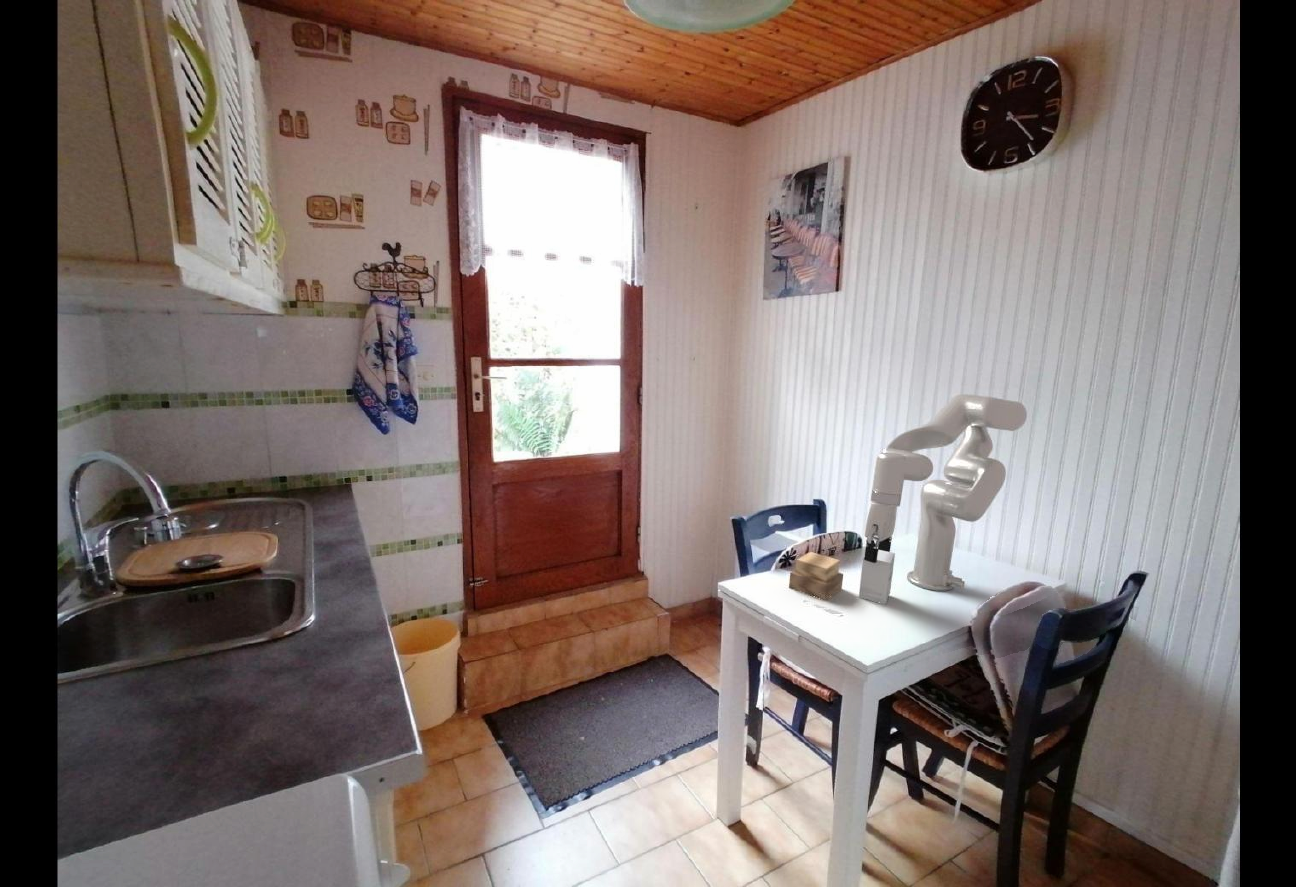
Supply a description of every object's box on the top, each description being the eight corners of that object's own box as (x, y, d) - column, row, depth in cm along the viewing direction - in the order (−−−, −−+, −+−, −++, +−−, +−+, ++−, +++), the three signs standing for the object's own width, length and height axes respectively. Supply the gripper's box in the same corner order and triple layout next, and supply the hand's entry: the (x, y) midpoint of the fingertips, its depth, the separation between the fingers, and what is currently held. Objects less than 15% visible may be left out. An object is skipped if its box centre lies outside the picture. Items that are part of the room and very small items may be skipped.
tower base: (841, 590, 162) (843, 573, 161) (824, 601, 154) (826, 584, 153) (806, 578, 169) (807, 562, 168) (788, 588, 161) (790, 572, 160)
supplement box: (886, 605, 153) (890, 563, 150) (857, 597, 157) (862, 556, 153) (891, 593, 159) (895, 552, 156) (863, 586, 163) (868, 546, 159)
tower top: (838, 573, 161) (839, 560, 160) (825, 582, 154) (826, 568, 154) (808, 564, 167) (810, 551, 166) (795, 572, 160) (796, 559, 159)
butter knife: (840, 617, 144) (845, 613, 146) (760, 586, 160) (766, 583, 162) (839, 619, 144) (844, 615, 146) (760, 588, 160) (765, 585, 163)
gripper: (883, 490, 161) (874, 547, 164) (859, 499, 148) (851, 560, 151) (910, 496, 156) (901, 554, 159) (888, 506, 144) (878, 569, 146)
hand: (876, 557), depth 155 cm, fingers open, 9 cm apart
